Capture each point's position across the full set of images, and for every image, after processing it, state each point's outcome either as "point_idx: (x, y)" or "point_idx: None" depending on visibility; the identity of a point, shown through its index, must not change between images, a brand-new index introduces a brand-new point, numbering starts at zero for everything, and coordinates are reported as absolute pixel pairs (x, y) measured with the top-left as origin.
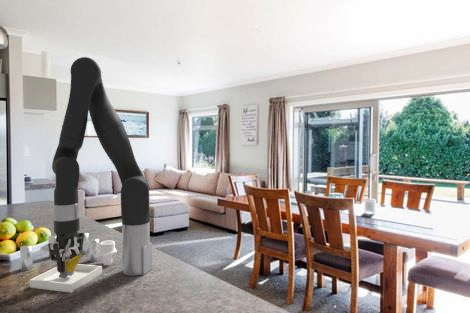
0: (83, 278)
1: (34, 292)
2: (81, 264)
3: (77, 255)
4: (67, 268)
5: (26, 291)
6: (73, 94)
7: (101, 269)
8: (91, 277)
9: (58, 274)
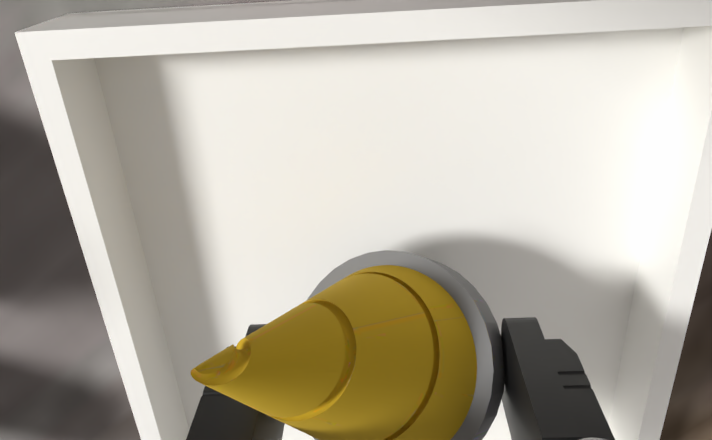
0: (488, 3)
1: (707, 353)
2: (118, 338)
3: (191, 435)
4: (458, 331)
5: (687, 420)
6: None
7: (56, 21)
8: (301, 4)
9: None
